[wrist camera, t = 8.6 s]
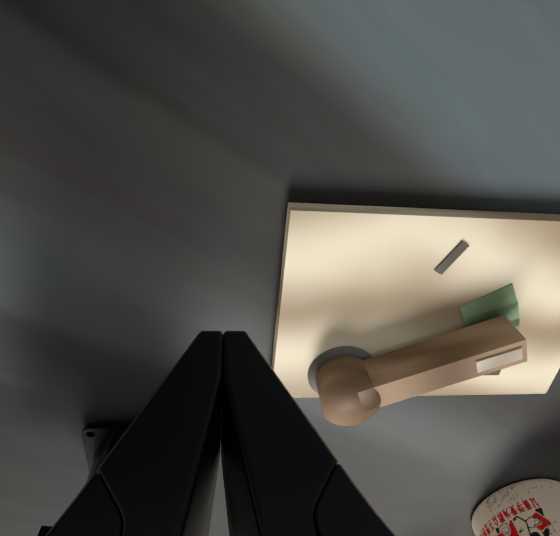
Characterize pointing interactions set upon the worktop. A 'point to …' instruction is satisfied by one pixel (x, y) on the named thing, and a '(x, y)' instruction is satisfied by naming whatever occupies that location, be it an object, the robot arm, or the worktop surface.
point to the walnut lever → (416, 369)
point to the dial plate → (415, 288)
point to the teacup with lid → (520, 510)
